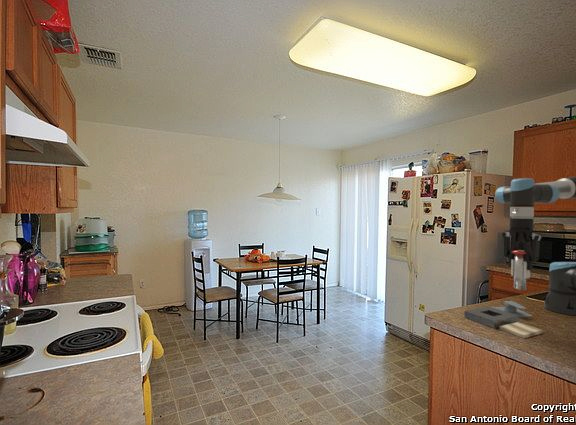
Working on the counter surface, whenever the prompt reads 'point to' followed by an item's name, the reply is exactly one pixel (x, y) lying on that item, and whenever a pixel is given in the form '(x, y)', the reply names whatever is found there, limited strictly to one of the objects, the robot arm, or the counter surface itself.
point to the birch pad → (521, 329)
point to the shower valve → (514, 309)
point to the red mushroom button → (519, 269)
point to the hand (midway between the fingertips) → (520, 276)
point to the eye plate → (491, 316)
